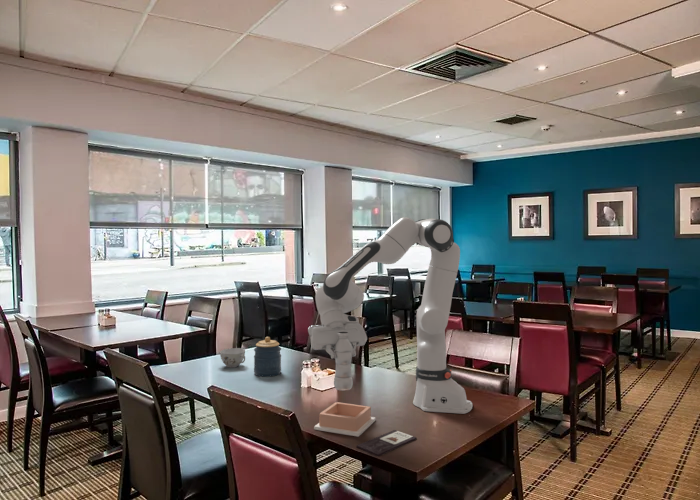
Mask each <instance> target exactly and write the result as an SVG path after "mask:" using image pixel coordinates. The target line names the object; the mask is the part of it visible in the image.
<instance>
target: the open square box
mask: <svg viewBox="0 0 700 500" xmlns="http://www.w3.org/2000/svg"><path fill="white" fill-rule="evenodd" d="M371 409H372V406H367V405H360V404H353V403H346V402H338V401H336V402H334V403H333V404H331V405H329V406H328V407H327V408H325V409H324V410H322V411H320V413H319V415H318V416H319V417H318V418H319V419H318V421H319V422H318V423H317V424H315V425H314V426H313V430H315V431H322V432H328V433H333V434H340V435H346V436H354V437H358V438H359V437H360V436H361V435H362V434H363V433H364V432H366V430H368V428H369V427H371V425H372V424H373V423H375V421H376V420H377V419H376V417H375V416H372V414H371V413H372V410H371Z"/></svg>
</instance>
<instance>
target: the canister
mask: <svg viewBox="0 0 700 500" xmlns="http://www.w3.org/2000/svg"><path fill="white" fill-rule="evenodd" d="M279 345H280V343H279V342H278V341H277V340H275V339H271V337H270V336H266V337H265V338H264V339H263V340H259V341H258V342H257V343H256V344H255V348H254V349H253V351H254V356H253V373H254V375H255V376H258V377H266V378H268V377H275V376H276V377H277V376H278V375H280V374H282V373H281V371H282V354H281V351H282V348H281V347H280V346H279Z"/></svg>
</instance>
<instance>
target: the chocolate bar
mask: <svg viewBox="0 0 700 500" xmlns="http://www.w3.org/2000/svg"><path fill="white" fill-rule="evenodd" d="M416 440H417V437H416V436H413V435H410V434H408V433H405V432H402V431H399V430H396V429H393V430H391V431H389V432H386V433H383V434H381V435H379V436H377V437H374V438H372V439H369V440H367V441H364V442H362V443H360V444H357V445H356V448H357V449H360V450H362V451H365V452H367V453H369V454H372V455H374V456H376V457H380V456H383V455H385V454H386V453H387V454H388V453H389V452H392V451H394V450H395V449H396V450H397V449H398V448H400V447H402V446H405V445H407V444H409V443H411V442H414V441H416Z"/></svg>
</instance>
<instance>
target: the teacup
mask: <svg viewBox="0 0 700 500" xmlns="http://www.w3.org/2000/svg"><path fill="white" fill-rule="evenodd" d="M245 355H246V350H245V349H244V348H241V347H234V348H226V349H225V348H224V349H221V350H220V352H219V356H220V359H221V362H222V363H223V364H224V365H225V366H226V367H227V368H237V367H239V366H240V364H243V363H245V361H246V356H245Z"/></svg>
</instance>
